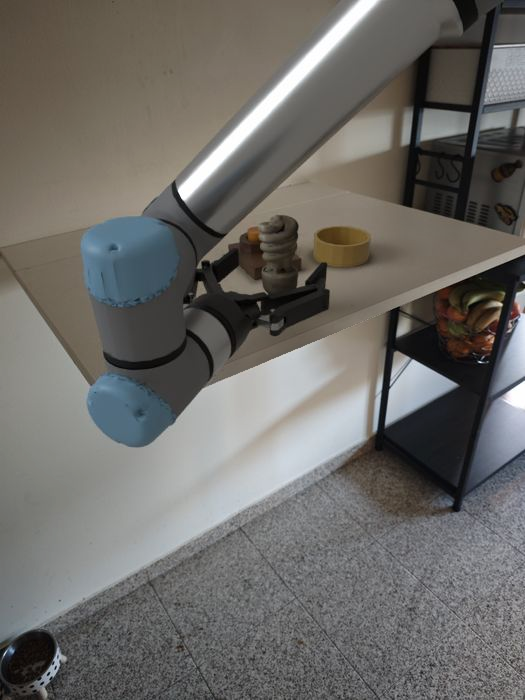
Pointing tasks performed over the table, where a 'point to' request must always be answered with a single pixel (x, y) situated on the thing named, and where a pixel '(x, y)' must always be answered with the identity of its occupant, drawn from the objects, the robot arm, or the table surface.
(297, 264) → the switch box
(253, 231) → the lamp button
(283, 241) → the light bulb
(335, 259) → the lamp holder
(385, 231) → the table surface
